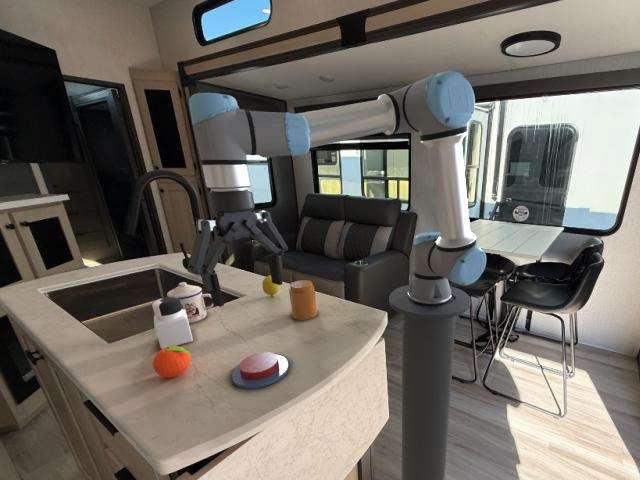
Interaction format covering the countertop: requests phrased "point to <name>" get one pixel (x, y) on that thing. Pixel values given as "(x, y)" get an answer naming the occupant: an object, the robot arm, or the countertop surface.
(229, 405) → the countertop surface
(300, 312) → the jar
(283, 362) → the saucer
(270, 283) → the lemon
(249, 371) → the lid
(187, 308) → the teacup with lid
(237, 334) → the countertop surface
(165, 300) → the medicine bottle
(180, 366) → the clementine
